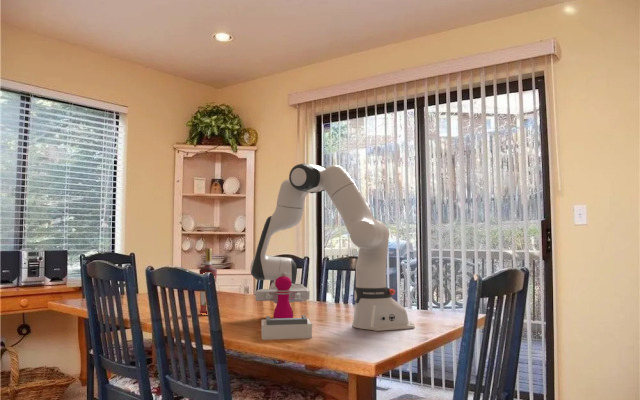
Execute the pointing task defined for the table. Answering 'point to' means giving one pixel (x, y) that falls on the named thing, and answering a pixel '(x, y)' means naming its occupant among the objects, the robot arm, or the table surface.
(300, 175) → the robot arm
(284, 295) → the pepper mill
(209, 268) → the liquor
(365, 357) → the table surface
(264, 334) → the dock
